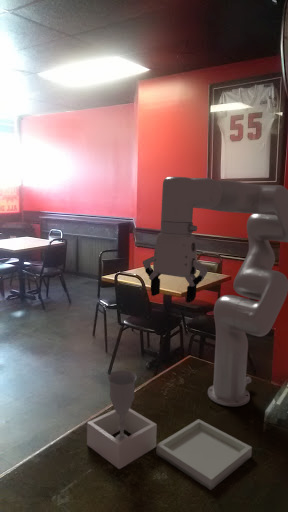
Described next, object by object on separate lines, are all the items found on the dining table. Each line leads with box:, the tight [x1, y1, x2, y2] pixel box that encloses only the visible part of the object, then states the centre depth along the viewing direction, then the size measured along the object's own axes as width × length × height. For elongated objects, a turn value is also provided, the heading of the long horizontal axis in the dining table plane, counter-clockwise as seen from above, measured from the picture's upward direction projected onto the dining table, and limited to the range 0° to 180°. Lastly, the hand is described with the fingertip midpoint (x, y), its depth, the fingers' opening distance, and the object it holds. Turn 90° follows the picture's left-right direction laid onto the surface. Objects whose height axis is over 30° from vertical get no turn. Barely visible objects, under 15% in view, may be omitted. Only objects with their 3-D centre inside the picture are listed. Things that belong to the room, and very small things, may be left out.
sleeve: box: [86, 408, 158, 470], centre depth 100 cm, size 12×12×6 cm
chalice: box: [107, 370, 138, 441], centre depth 99 cm, size 7×7×18 cm
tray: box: [155, 418, 253, 491], centre depth 97 cm, size 16×16×2 cm
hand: (172, 298), depth 101 cm, fingers open, 9 cm apart
